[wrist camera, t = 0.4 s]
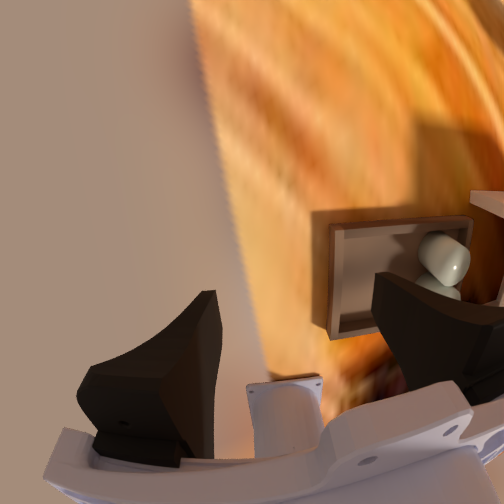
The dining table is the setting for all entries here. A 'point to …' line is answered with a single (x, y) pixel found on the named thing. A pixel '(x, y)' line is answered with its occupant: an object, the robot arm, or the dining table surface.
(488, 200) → the grey rectangular block
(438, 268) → the grey rounded lump
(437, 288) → the white rounded cylinder
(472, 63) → the dining table surface
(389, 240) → the tray
